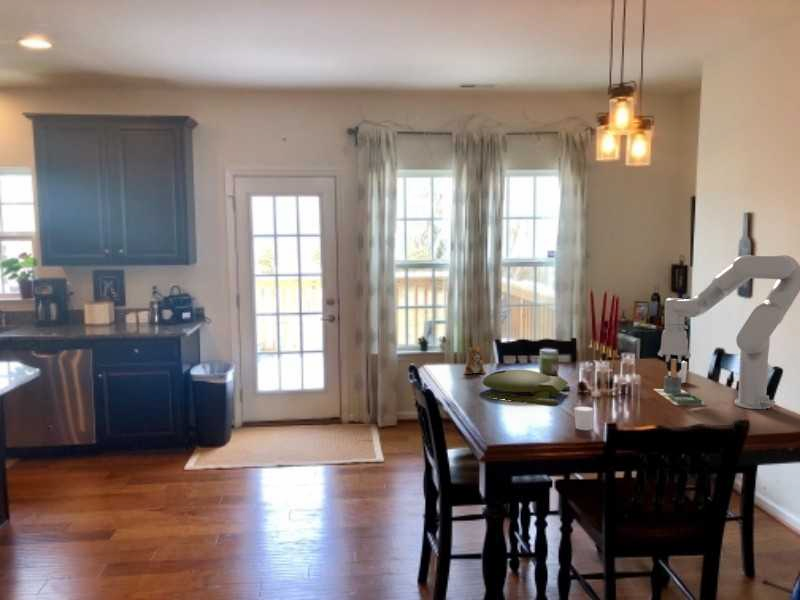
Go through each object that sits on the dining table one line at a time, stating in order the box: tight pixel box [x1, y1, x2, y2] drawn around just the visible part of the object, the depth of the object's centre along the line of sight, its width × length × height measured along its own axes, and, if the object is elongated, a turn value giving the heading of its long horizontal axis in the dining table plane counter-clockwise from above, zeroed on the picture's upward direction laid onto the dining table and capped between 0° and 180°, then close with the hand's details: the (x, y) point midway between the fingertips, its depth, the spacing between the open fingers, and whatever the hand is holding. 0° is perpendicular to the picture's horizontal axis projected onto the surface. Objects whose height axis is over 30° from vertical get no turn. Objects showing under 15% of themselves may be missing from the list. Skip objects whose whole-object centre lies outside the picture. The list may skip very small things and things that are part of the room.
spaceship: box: [482, 368, 571, 406], centre depth 273 cm, size 35×31×10 cm
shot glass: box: [573, 405, 595, 431], centre depth 223 cm, size 7×7×7 cm
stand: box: [653, 375, 708, 408], centre depth 261 cm, size 26×12×8 cm, turn 177°
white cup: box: [667, 360, 688, 384], centre depth 287 cm, size 8×8×10 cm
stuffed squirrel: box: [465, 347, 487, 375], centre depth 316 cm, size 10×14×13 cm
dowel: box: [670, 358, 678, 378], centre depth 267 cm, size 3×3×12 cm
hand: (674, 370), depth 267 cm, fingers closed on dowel, 2 cm apart
